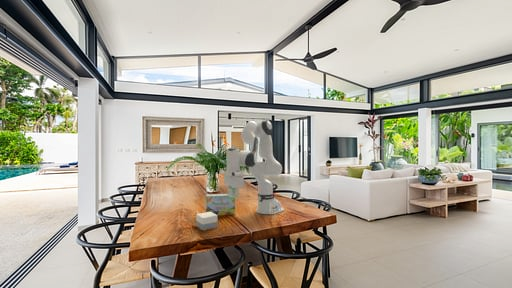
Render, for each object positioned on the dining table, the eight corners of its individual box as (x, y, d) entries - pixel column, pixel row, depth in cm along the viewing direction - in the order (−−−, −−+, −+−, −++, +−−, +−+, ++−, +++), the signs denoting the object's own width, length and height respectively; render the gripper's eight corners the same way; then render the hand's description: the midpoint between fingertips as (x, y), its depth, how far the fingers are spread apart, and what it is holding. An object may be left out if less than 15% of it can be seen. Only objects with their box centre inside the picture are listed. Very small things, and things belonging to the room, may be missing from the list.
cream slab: (210, 217, 160) (210, 211, 160) (217, 221, 152) (217, 215, 152) (196, 220, 154) (196, 214, 154) (202, 224, 146) (202, 218, 146)
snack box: (206, 216, 174) (206, 195, 174) (206, 214, 180) (206, 194, 180) (234, 214, 178) (234, 194, 178) (234, 212, 184) (234, 193, 184)
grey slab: (210, 223, 160) (210, 217, 160) (217, 227, 152) (217, 221, 152) (196, 226, 154) (196, 220, 154) (202, 231, 146) (202, 224, 146)
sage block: (234, 195, 161) (234, 186, 161) (238, 197, 157) (238, 188, 157) (227, 196, 158) (227, 187, 158) (231, 198, 154) (231, 188, 154)
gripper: (221, 170, 164) (221, 190, 164) (236, 174, 148) (236, 196, 148) (229, 170, 168) (229, 189, 168) (245, 173, 151) (245, 195, 151)
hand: (233, 192), depth 158 cm, fingers closed on sage block, 5 cm apart
